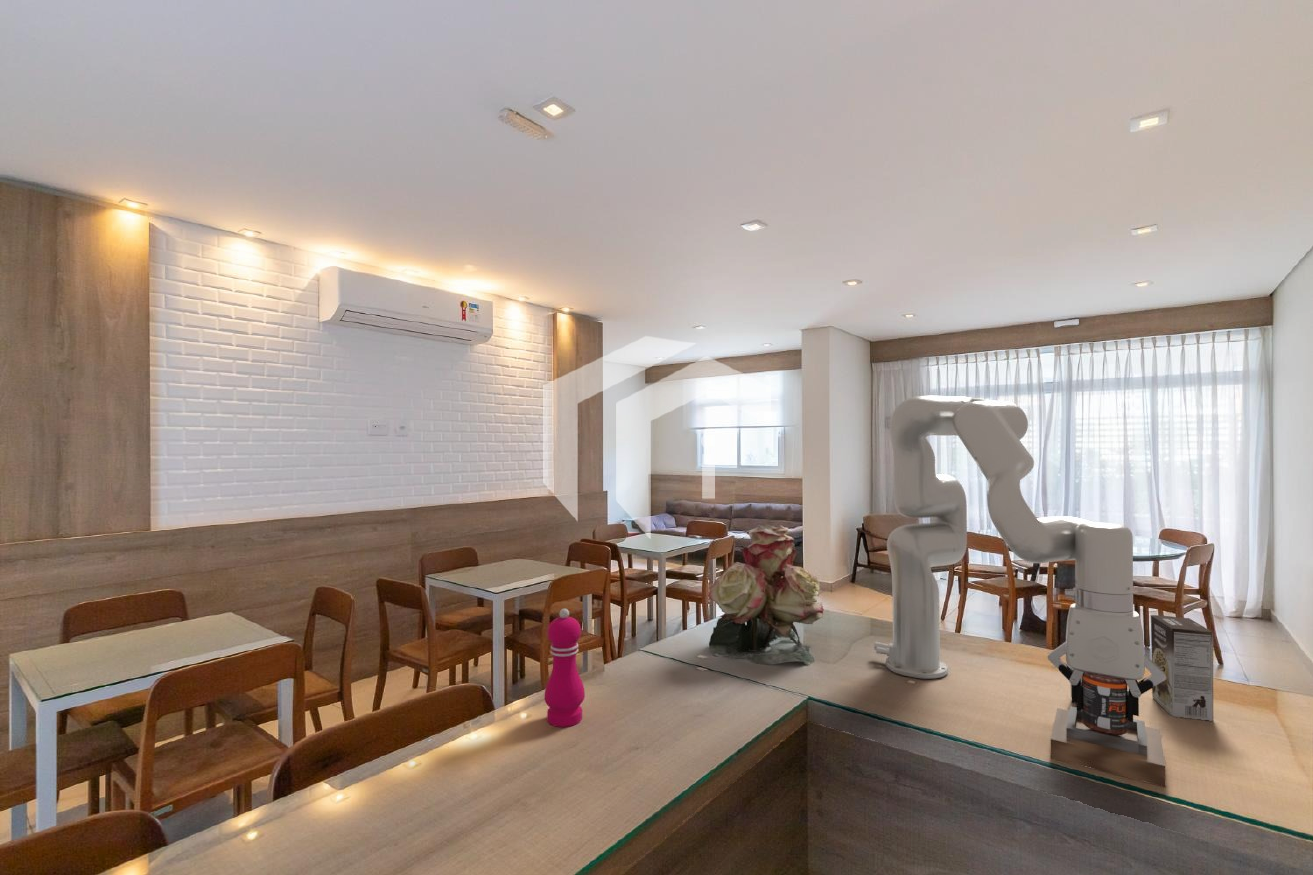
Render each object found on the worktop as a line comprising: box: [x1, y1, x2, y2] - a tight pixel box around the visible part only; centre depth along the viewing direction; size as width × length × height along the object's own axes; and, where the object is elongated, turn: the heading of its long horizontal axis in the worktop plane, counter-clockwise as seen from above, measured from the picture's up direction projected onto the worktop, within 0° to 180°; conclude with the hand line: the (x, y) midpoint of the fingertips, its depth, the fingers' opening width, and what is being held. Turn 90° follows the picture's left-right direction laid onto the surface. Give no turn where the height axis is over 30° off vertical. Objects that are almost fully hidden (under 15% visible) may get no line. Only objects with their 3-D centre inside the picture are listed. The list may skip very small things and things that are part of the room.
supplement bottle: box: [1082, 672, 1129, 736], centre depth 99 cm, size 6×6×11 cm
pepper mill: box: [544, 608, 586, 728], centre depth 112 cm, size 7×7×20 cm
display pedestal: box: [1050, 706, 1167, 788], centre depth 99 cm, size 14×14×4 cm
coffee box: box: [1150, 614, 1215, 722], centre depth 115 cm, size 9×6×16 cm
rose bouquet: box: [708, 524, 825, 666], centre depth 150 cm, size 26×29×30 cm
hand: (1104, 712), depth 99 cm, fingers closed on supplement bottle, 5 cm apart
